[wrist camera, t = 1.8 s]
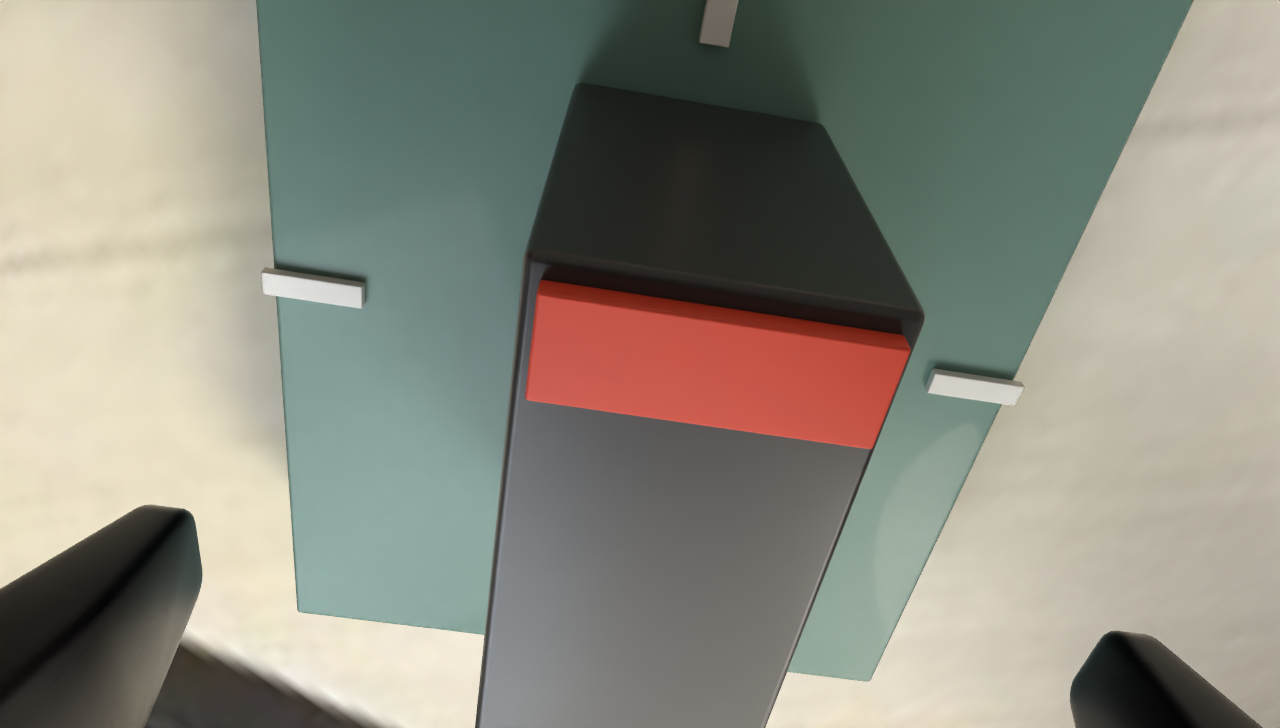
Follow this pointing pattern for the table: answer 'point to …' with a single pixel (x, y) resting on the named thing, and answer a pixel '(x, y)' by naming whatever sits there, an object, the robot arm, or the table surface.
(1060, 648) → the table surface
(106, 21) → the table surface
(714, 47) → the green flat block
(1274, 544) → the table surface
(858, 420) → the block
